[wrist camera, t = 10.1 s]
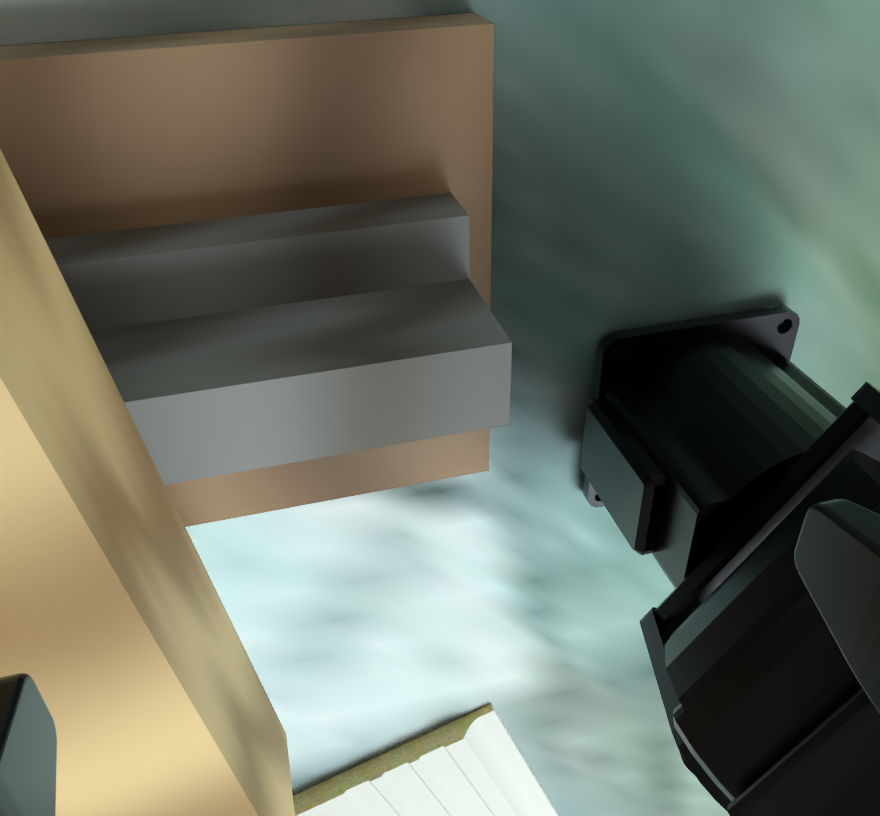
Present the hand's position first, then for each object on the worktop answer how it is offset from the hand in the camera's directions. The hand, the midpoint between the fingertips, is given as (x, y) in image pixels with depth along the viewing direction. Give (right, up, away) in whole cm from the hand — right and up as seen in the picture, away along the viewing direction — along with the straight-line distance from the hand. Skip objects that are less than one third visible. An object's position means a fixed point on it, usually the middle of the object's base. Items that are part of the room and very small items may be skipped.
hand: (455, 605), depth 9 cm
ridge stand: (-9, +5, +10) cm, 14 cm away
